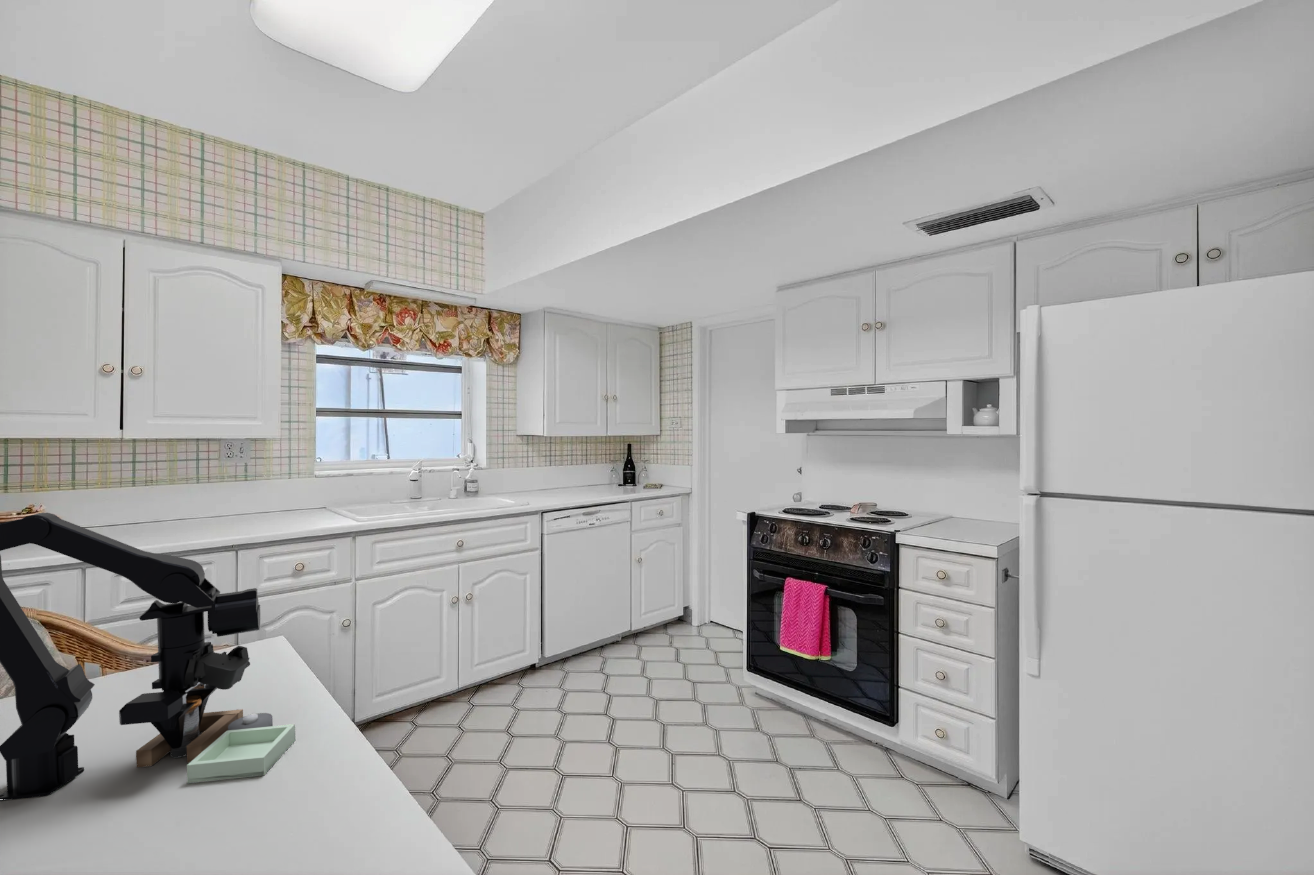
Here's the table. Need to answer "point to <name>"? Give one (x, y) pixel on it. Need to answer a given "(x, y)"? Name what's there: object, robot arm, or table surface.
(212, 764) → the tray
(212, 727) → the brown u-shaped piece
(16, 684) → the robot arm
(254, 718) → the pulley
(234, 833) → the table surface
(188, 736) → the pin
